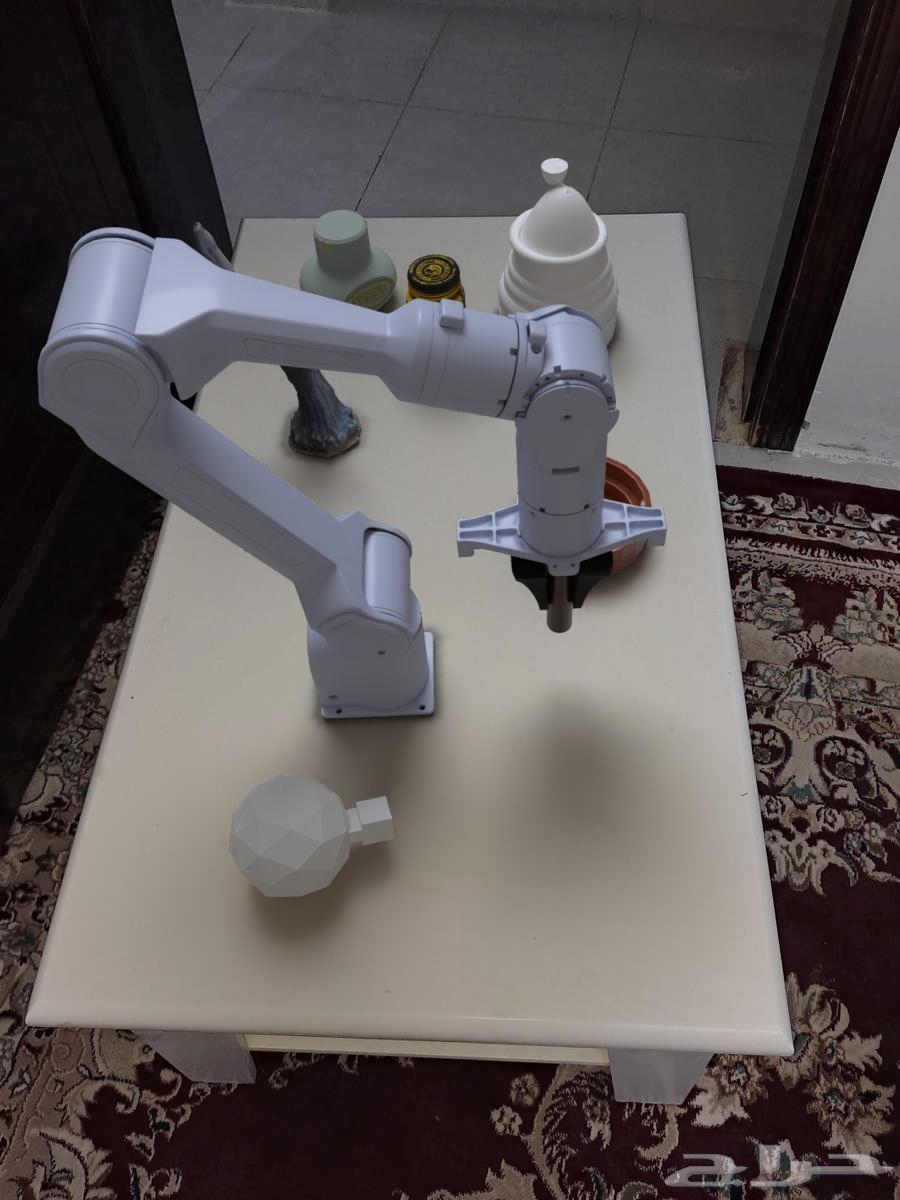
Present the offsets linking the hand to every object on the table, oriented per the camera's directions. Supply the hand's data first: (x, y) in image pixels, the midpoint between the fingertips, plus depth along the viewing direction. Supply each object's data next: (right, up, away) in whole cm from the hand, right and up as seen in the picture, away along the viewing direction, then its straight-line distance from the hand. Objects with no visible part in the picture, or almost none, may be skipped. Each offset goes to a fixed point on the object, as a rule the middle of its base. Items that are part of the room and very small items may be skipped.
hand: (559, 598), depth 77 cm
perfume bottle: (-19, -20, 0) cm, 27 cm away
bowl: (+4, +7, +17) cm, 18 cm away
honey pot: (+3, +30, +33) cm, 45 cm away
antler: (-23, +17, +26) cm, 39 cm away
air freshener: (-20, +34, +38) cm, 54 cm away
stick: (0, -2, +3) cm, 3 cm away
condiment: (-10, +26, +32) cm, 42 cm away
